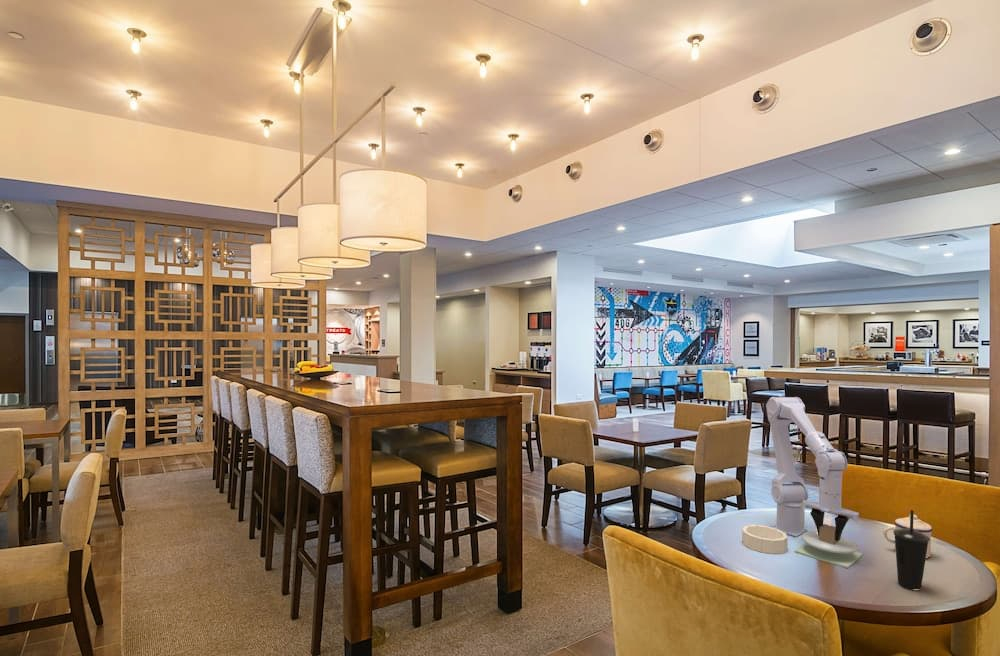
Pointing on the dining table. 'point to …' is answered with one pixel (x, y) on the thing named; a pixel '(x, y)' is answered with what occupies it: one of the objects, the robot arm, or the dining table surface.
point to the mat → (829, 556)
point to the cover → (829, 541)
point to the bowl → (764, 539)
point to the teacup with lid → (917, 525)
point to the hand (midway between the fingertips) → (829, 537)
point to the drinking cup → (910, 555)
